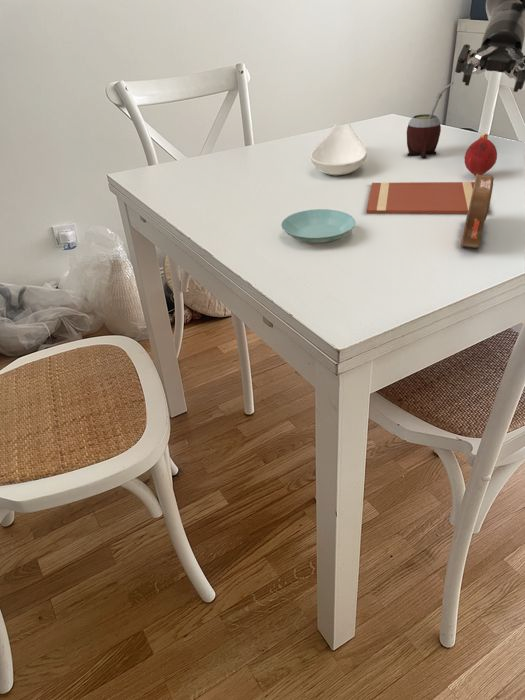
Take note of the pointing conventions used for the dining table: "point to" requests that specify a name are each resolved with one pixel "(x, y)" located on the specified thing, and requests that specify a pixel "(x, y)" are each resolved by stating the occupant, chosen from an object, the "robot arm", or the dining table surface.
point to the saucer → (318, 225)
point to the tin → (477, 211)
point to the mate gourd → (424, 132)
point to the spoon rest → (339, 152)
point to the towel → (420, 198)
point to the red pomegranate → (480, 156)
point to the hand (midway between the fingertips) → (492, 83)
